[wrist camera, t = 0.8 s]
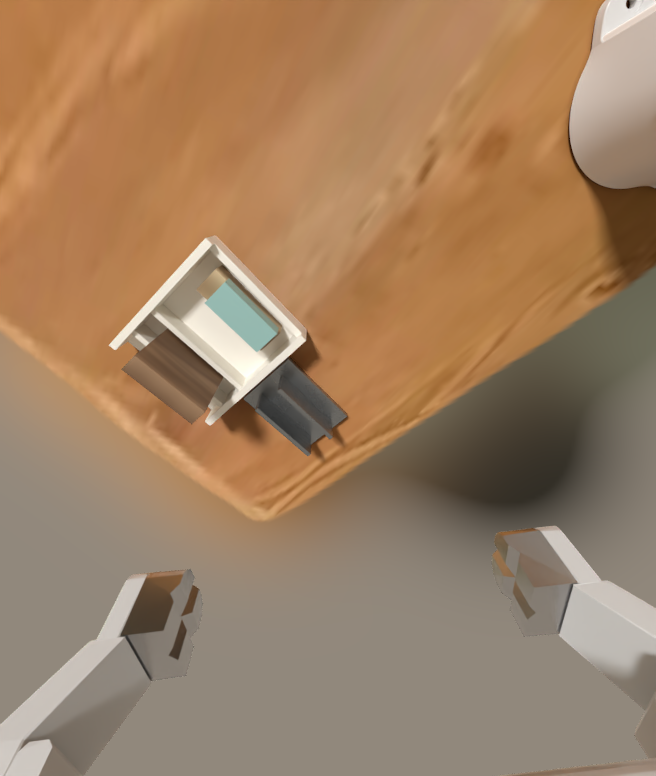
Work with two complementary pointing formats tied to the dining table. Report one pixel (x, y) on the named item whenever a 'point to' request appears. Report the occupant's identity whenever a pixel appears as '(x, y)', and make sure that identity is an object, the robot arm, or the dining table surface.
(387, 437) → the dining table surface
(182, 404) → the walnut board
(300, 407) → the stand
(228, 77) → the dining table surface
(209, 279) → the oak offcut
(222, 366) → the rack
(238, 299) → the teal offcut
